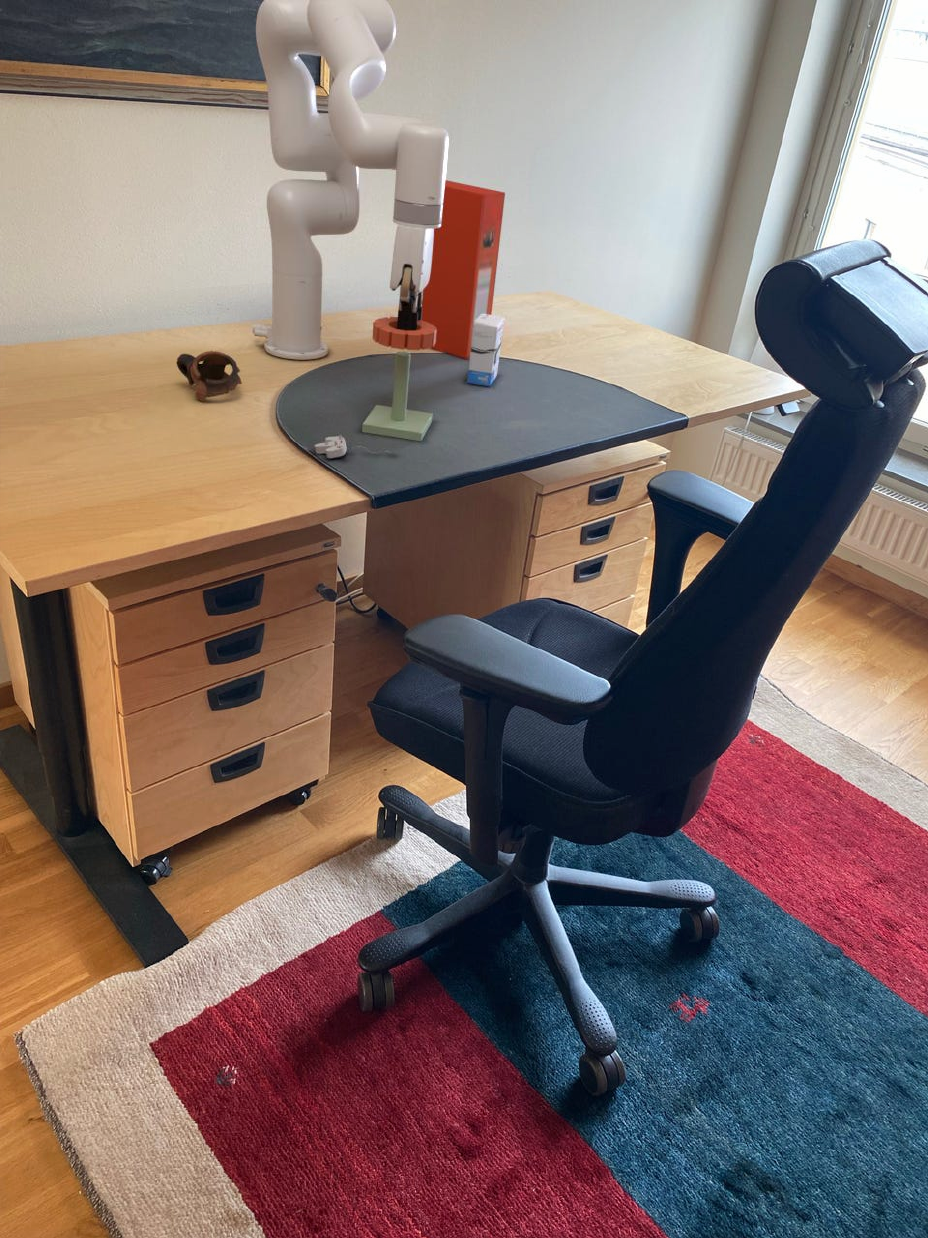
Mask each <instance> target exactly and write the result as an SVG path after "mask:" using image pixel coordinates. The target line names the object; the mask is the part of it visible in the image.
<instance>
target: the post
mask: <svg viewBox="0 0 928 1238" xmlns="http://www.w3.org/2000/svg"><path fill="white" fill-rule="evenodd" d="M410 367H411V353H410V352H408V351H396V352H395V359H394V371H393V372H394V373H393V390H392V403H391V406H386V405H381V404H380V405H379V404H376V405H375V406H374V407H373V409H372V410H371V412H370V413H369V414H368V416H367V417H366V419H365V420H364V421H363V423H362V425H361V426H362V427H361V428H362V429H361V432H362V433H366V434H370V435H378V436H384V437H390V438H397V439H402V440H410V441H416V442H422V441H423V439H424V437H425V435H426V433H427V431H428V430H429V428H430V427H431V424H432V422H433V413H432V412H424V411H418V410H411V409H407V405H408V404H407V403H408V393H409V382H410V379H409V378H410Z"/></svg>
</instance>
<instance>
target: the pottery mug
mask: <svg viewBox="0 0 928 1238" xmlns="http://www.w3.org/2000/svg"><path fill="white" fill-rule="evenodd" d="M229 365H230V366H231V370H232V371H231V373H227V372H226V367H227V366H229ZM176 368H177V369H178V370H179V372H180V373H181V375H183V376H184V377H185V378H186V379H187V381H188V384H189V386H193V385H195V386H196V389H195V392H194V396H195V398H196V399H197V400H199V401H201V402H205V400H206V399H207V398H214V397H217V396H222V395H227V394H229V393H230V391H233V390H235V388H236V387H237V386H238V385H242V384H243V382H242V379H241V377H240V375H239V373H240V372H241V370H240V368H239V367H238V366H237V362H236V361H235V359H233V358H232V357H231V356H230V355H228V354H226V353H223V352H221V351H214V350H208V351H204V352H202V353H200V354H197V356H194V355H192V354H189V353H181V354H180V355H179V356H178V357H177V358H176Z"/></svg>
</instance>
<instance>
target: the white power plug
mask: <svg viewBox="0 0 928 1238" xmlns="http://www.w3.org/2000/svg"><path fill="white" fill-rule="evenodd" d="M357 447H358V448H361V446H359V445H358V446H354V447H353V449H355V448H357ZM363 448H365V449H366V450H367V452H369V450H368V448H367V447H365V446H364V447H363ZM314 450H315V454H318V455H320V454H325V455H326V458H327V459H333V458H340V457H343V456H345V455H346V453H347V451H348V447H347V442H346V439H345V438H344V437H343V436H342V434H339V435H338V436H337V435H336V436H327V437H325V439H324V442H320V443H316V444H314ZM386 452H388V453H391V456H392V455H393V454H392V452H390V451H387V450H386ZM371 453H372V454H375V452H374V451H373V452H372V451H371ZM379 453H380V451H379V452H377V454H379Z"/></svg>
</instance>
